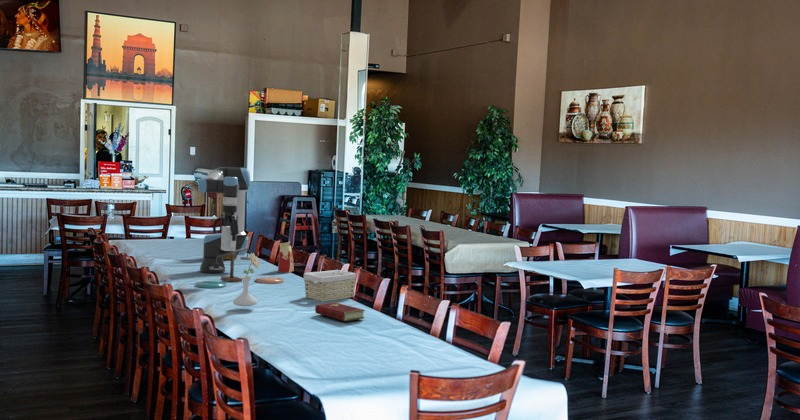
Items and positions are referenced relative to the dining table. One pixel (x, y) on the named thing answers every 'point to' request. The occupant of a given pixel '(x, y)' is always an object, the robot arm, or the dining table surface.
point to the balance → (231, 277)
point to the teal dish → (211, 284)
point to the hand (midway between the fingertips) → (228, 245)
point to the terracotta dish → (269, 280)
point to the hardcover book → (339, 311)
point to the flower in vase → (245, 296)
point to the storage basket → (329, 285)
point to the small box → (226, 239)
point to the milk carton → (285, 258)
